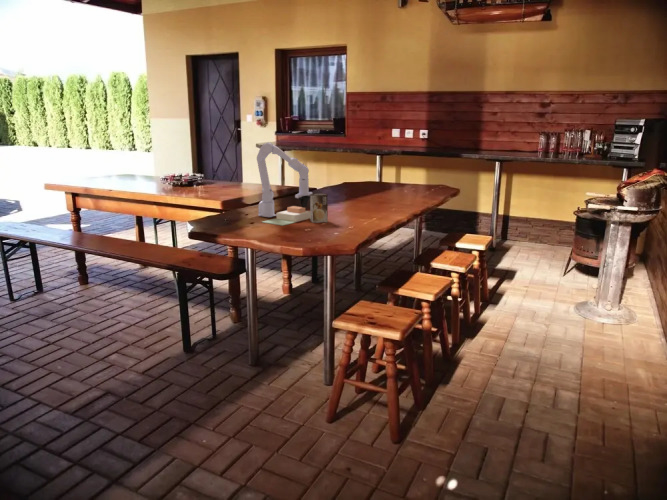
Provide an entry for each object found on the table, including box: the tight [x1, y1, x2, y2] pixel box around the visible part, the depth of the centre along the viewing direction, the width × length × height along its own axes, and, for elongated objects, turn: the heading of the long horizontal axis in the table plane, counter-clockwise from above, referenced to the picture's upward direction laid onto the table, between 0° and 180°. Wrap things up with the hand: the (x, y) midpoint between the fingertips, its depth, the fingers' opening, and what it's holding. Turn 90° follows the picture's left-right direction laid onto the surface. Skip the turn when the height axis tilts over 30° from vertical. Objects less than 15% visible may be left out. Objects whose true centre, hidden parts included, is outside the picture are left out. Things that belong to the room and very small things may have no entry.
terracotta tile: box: [286, 205, 306, 213], centre depth 315 cm, size 9×6×2 cm, turn 55°
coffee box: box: [309, 193, 329, 224], centre depth 305 cm, size 9×6×16 cm
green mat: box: [261, 218, 297, 227], centre depth 304 cm, size 16×12×1 cm
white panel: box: [276, 210, 310, 223], centre depth 314 cm, size 14×16×4 cm
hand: (303, 208), depth 321 cm, fingers closed
